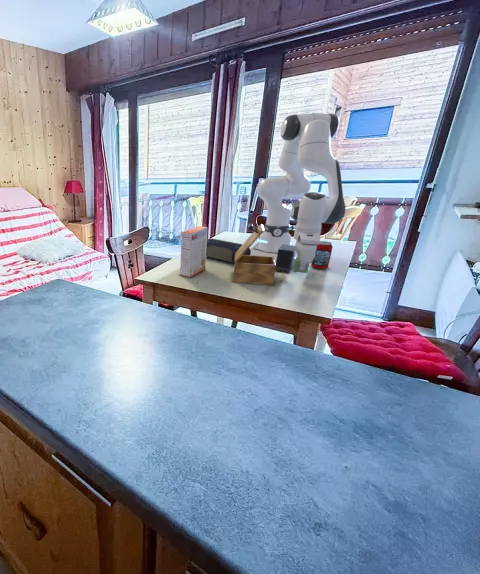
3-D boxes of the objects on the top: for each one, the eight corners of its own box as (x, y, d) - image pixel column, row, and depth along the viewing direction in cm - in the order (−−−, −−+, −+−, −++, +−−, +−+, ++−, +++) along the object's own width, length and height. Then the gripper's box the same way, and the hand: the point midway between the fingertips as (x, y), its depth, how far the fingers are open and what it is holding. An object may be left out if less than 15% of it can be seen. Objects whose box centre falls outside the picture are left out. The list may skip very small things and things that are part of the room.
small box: (289, 273, 148) (293, 250, 144) (273, 270, 152) (277, 249, 148) (293, 266, 156) (297, 245, 152) (278, 264, 159) (281, 243, 155)
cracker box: (194, 267, 162) (196, 225, 154) (205, 269, 158) (208, 227, 150) (178, 275, 153) (180, 231, 146) (190, 277, 149) (192, 233, 141)
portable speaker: (197, 257, 177) (199, 239, 174) (209, 253, 183) (210, 235, 179) (240, 267, 158) (242, 247, 155) (251, 263, 164) (254, 243, 160)
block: (292, 268, 140) (294, 257, 138) (305, 269, 138) (307, 257, 136) (293, 272, 136) (295, 260, 134) (307, 273, 134) (309, 261, 132)
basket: (270, 275, 147) (273, 256, 144) (273, 285, 136) (276, 265, 133) (233, 272, 153) (235, 254, 149) (232, 281, 142) (235, 262, 139)
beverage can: (309, 268, 152) (314, 243, 148) (312, 264, 157) (317, 240, 152) (326, 271, 148) (331, 245, 143) (329, 266, 152) (334, 242, 148)
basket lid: (262, 224, 141) (252, 217, 141) (264, 230, 130) (253, 223, 130) (236, 254, 149) (227, 247, 150) (235, 262, 139) (225, 255, 139)
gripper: (294, 228, 141) (289, 258, 147) (301, 240, 124) (294, 274, 129) (311, 228, 139) (305, 259, 144) (320, 241, 122) (313, 275, 127)
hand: (300, 266), depth 137 cm, fingers closed on block, 5 cm apart
